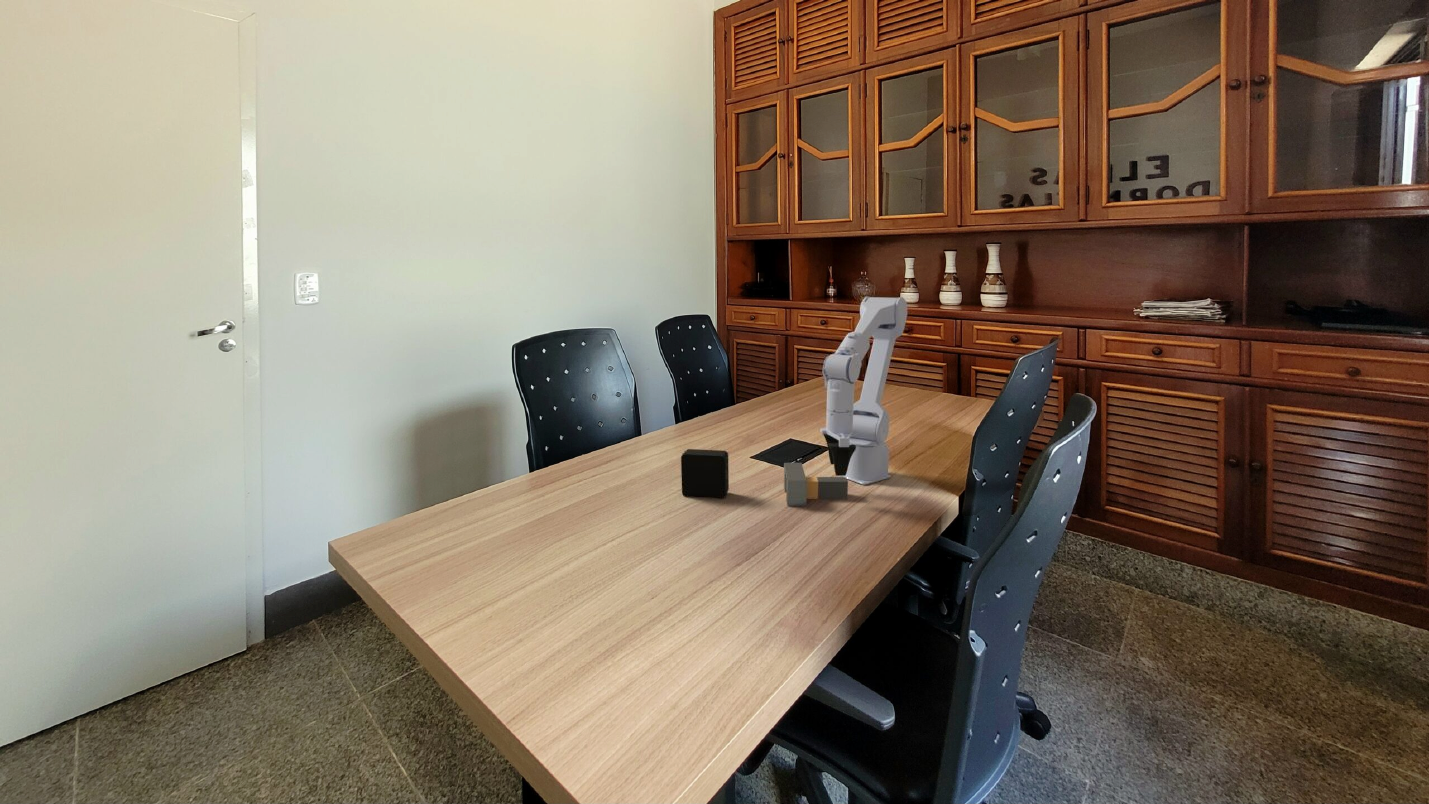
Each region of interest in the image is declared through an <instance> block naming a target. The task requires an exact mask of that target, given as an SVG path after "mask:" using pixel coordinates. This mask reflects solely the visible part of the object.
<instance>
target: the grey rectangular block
mask: <svg viewBox="0 0 1429 804" xmlns="http://www.w3.org/2000/svg"><path fill="white" fill-rule="evenodd" d="M806 477H807V476H806V474H805V470H804V466H803V464H802V462H784V463H783V488H784V489H783V490H784V493H786V505H787V507H807V499H806V493H807V480H806Z"/></svg>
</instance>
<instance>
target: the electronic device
mask: <svg viewBox="0 0 1429 804" xmlns="http://www.w3.org/2000/svg"><path fill="white" fill-rule="evenodd" d="M680 467H681V468H680V471H681V474H680V475H681V494H682V496H683V497H686V498H699V499H700V498H703V499H717V500H722V499H725V498H726V496H727V494H728V492H729V489H730V488H729V478H730V477H729V474H730V473H729V471H730V470H729V452H727V451H726V450H721V449H720V450H719V449H718V450H716V449H715V450H714V449H695V448H688V449H686V450H684V451H683V452H682V453H681V457H680Z"/></svg>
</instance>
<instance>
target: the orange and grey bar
mask: <svg viewBox="0 0 1429 804" xmlns="http://www.w3.org/2000/svg"><path fill="white" fill-rule="evenodd" d="M806 480H807V493H806V500H808V499H810V500H813V499H814V500H815V499H818V500H821V499H823V500H826V499H828V500H829V499H830V500H846V499H848V491H849V489H848V488H849V481H848V479H846V477H841V476H806Z"/></svg>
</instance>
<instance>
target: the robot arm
mask: <svg viewBox="0 0 1429 804" xmlns="http://www.w3.org/2000/svg"><path fill="white" fill-rule="evenodd" d="M859 315H860V319H859V321H858V323H857V324H856V327H855V330H854V331H851V332H848V333H847V334H846V335H845V337H844V339H843V340H842V341H841V343H840V345H839V347H838V348H837V349H836V351H835V352H834V353H832V354H830V355H828V356H826V358H825V359H824V362H823V366H822V376H823V379H824V388H825V389H826V412H825V413H826V414H825V415H826V416H825V417H826V420H825V422H826V423H825V427H824V428H823V427H821V428H820V433H821V434H822V435H823V437H824V439H825V442H826V446H827V451H828V457H829V462H830V465H833V468H834V473H835V477H846V479H847V480H849V481H852V482H854V483H858V484H860V485H864V486H865V485H871V484H872V483H876V482H879V481H883V480H886V479H890V478H891V477H892V476H891V474H889V461H890V451H889V450H890V449H889V447H888V444H887V443H886V442H885V441H886V440H887V438H888V437H889V436H888V435H889V431H890V427H889V426H890V420H891V419H890V418H891V417H890V414H889V412H888V410H886V408H884V407H883V406H882V404H881V403H882V398H883V393H884V391H885V386H886V383H887V382H886V381H887V378H888V377H887V376H888V373H889V368H890V363H891V360H892V354H893V351H894V346H895V343H896V339H898V337H901V336H903V334H904V333H903V332H904V331H905V326H906V322H907V316H908V303H907V301H906V299H905V297H903V296H900V297H899V296H898V297H876V296H875V297H872V296H871V297H870V296H865V297H864V298H863V299H862V301H861V303H860V306H859ZM871 337H872V338H873V343H872V345H871V344H870V339H871ZM870 345H871V346H872V347H871V351H870V356H869V358H868V364H867V367H866V371H865V376H864V381H863V385H862V389H861V393H860V398H859V400H857V401H856V402H855V383H856V382H857V380H858V379H859V377H860V372H861V368H862V365H863V364H862V361H863V359H864V358H865V356H866V354H867V352H868V351H869V349H870Z"/></svg>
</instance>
